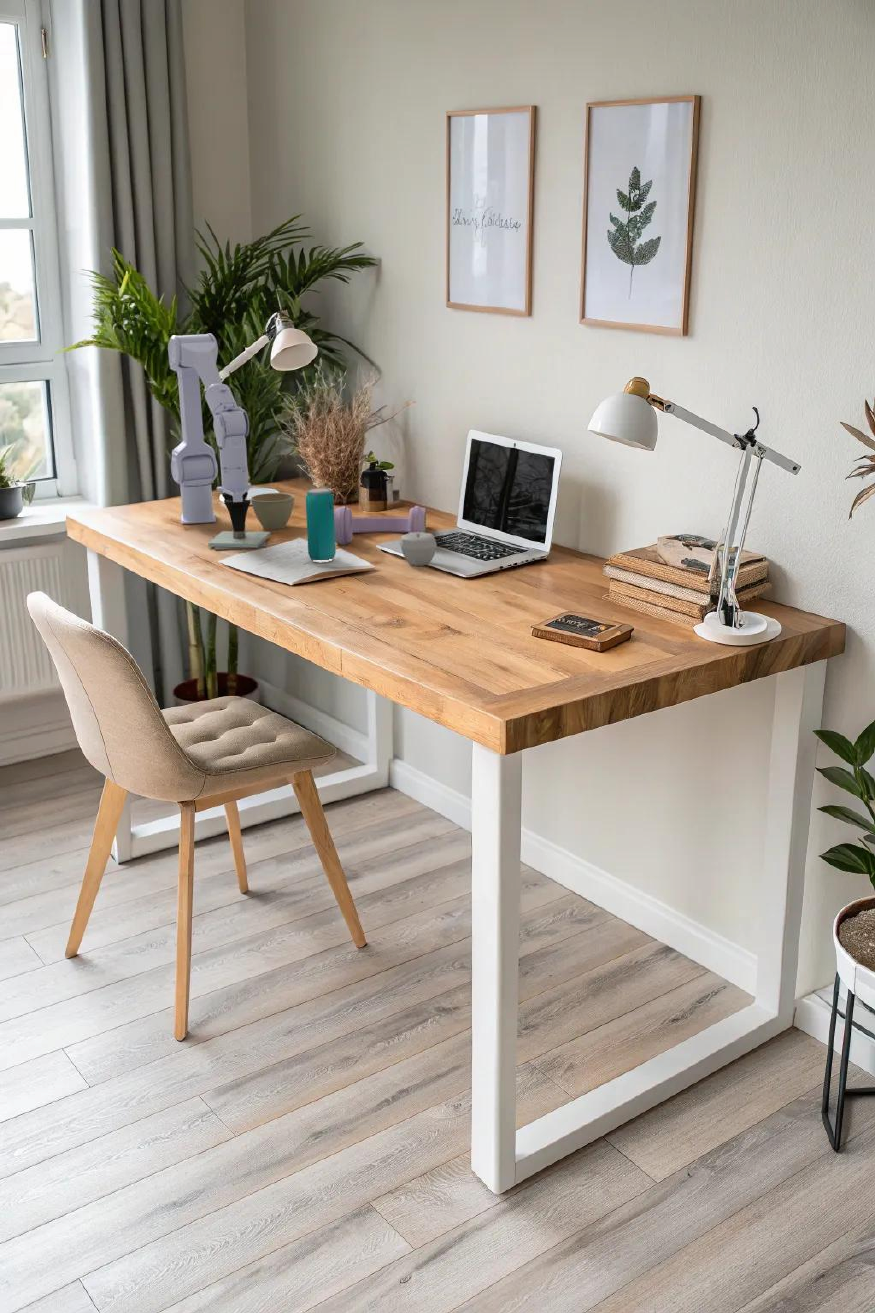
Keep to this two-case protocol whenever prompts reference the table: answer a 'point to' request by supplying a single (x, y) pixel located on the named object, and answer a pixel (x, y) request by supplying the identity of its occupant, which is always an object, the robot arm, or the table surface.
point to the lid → (239, 539)
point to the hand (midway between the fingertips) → (238, 527)
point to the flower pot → (273, 509)
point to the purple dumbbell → (376, 523)
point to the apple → (418, 548)
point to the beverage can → (320, 523)
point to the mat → (237, 547)
